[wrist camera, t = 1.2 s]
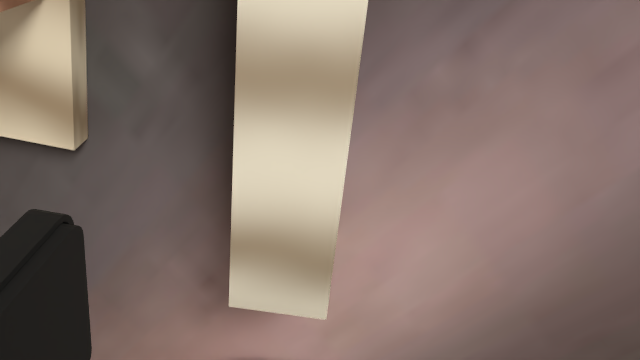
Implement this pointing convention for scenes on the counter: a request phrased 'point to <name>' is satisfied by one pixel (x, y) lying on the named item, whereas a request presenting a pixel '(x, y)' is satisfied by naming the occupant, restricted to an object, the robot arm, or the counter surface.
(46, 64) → the ridge stand
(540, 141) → the counter surface
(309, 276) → the birch bar
